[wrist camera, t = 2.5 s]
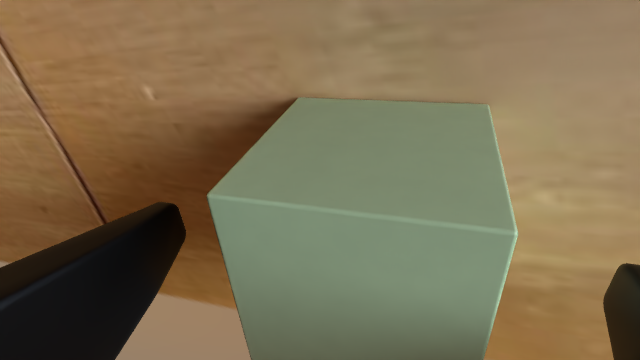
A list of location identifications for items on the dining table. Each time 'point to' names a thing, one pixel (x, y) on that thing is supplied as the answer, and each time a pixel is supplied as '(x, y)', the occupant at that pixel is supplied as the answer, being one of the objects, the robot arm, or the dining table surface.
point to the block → (368, 232)
